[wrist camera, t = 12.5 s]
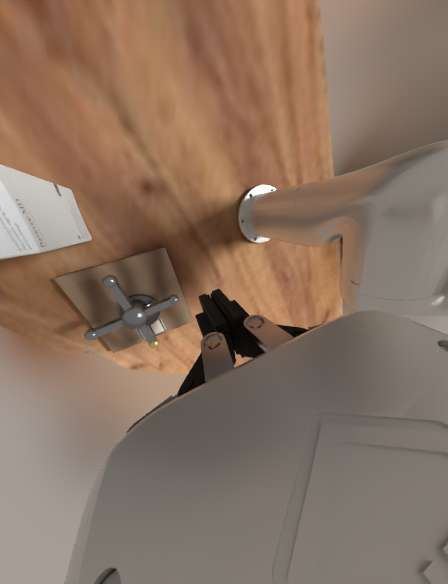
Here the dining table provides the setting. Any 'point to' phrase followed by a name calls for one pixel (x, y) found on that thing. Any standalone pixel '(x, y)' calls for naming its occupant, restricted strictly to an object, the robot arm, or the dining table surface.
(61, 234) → the skincare box
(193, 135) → the dining table surface
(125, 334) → the board
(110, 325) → the capstan
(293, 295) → the dining table surface
